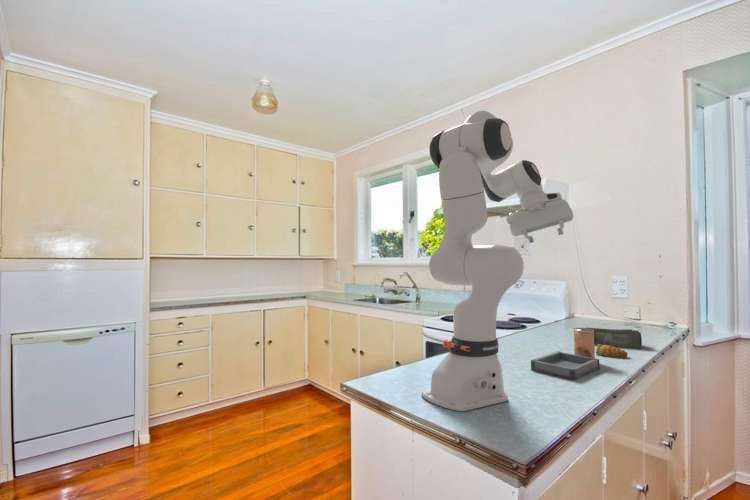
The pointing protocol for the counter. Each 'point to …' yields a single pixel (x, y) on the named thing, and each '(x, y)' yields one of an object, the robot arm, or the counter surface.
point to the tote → (565, 365)
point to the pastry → (610, 351)
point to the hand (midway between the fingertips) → (546, 237)
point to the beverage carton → (617, 337)
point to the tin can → (584, 342)
